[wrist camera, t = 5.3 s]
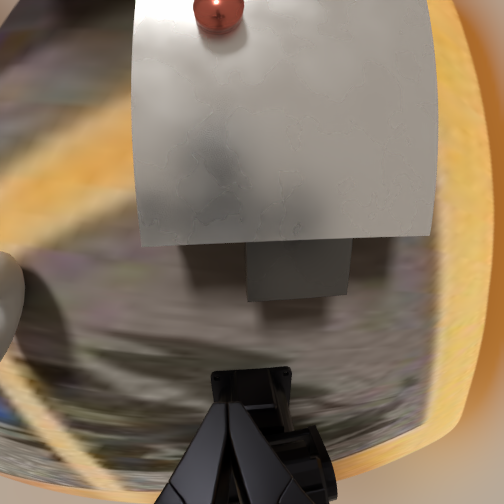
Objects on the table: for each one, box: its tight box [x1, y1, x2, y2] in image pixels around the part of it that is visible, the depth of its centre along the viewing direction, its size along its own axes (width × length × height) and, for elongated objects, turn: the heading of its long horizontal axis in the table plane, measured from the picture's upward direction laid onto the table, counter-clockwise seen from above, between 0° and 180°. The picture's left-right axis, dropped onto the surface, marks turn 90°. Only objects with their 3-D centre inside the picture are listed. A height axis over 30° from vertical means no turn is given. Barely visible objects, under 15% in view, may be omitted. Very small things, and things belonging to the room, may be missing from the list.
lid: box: [131, 0, 438, 302], centre depth 12 cm, size 17×14×2 cm
